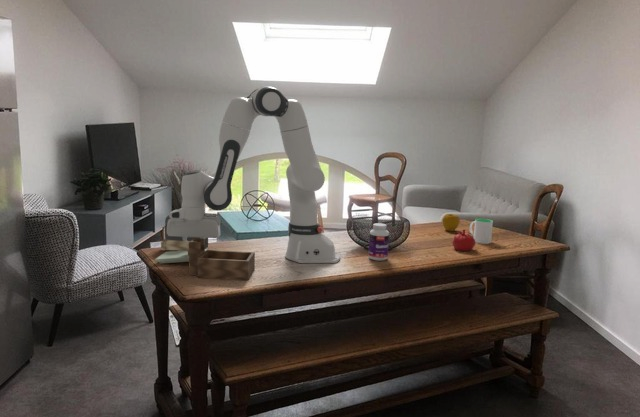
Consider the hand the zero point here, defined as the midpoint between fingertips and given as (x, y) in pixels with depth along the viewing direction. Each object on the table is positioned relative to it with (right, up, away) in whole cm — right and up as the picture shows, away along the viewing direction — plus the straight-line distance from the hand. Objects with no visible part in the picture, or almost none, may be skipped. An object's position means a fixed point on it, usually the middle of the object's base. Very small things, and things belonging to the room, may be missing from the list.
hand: (193, 248), depth 207 cm
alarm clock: (-8, -2, +19) cm, 21 cm away
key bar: (-2, 0, -13) cm, 13 cm away
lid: (-5, -3, +1) cm, 6 cm away
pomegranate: (+113, -3, +33) cm, 118 cm away
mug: (+125, 0, +50) cm, 135 cm away
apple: (+116, +4, +71) cm, 136 cm away
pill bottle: (+73, -6, +14) cm, 74 cm away
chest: (+13, -8, -12) cm, 20 cm away
